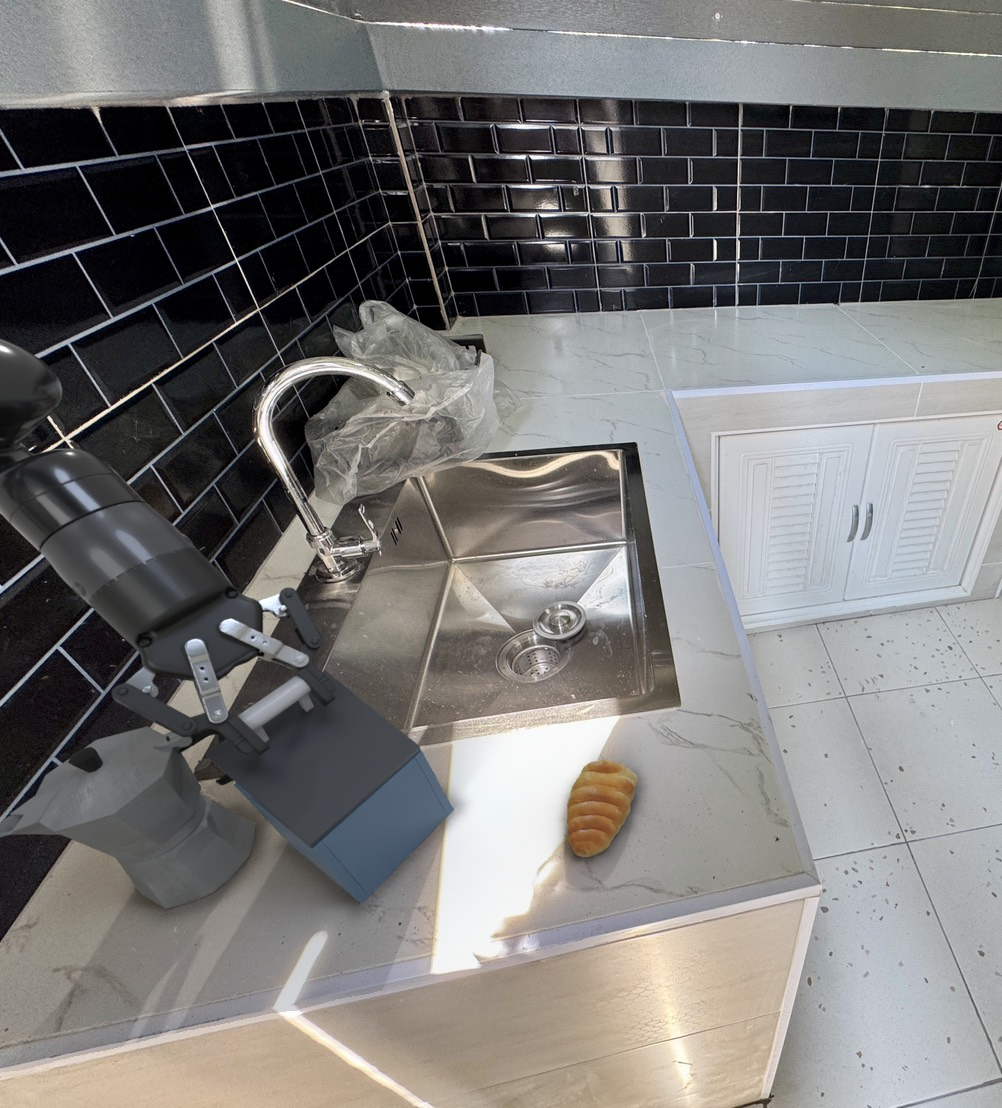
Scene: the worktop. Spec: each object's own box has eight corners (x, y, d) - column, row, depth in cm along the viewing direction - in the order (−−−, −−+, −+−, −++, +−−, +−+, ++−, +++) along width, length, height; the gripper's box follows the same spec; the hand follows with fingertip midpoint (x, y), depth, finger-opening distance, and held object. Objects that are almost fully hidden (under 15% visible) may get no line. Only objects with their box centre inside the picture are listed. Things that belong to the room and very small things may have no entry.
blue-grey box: (287, 842, 60) (233, 784, 54) (382, 760, 68) (344, 700, 61) (361, 904, 56) (312, 849, 49) (454, 809, 63) (422, 751, 57)
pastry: (620, 864, 59) (615, 846, 57) (553, 857, 60) (546, 839, 57) (641, 777, 67) (638, 758, 64) (581, 772, 67) (576, 752, 65)
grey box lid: (207, 757, 51) (183, 729, 47) (326, 673, 58) (315, 642, 54) (311, 848, 49) (295, 827, 45) (421, 750, 57) (416, 724, 53)
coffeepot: (124, 952, 53) (-38, 857, 41) (108, 873, 58) (-41, 769, 46) (317, 829, 61) (226, 723, 50) (288, 770, 66) (199, 661, 55)
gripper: (235, 540, 56) (365, 676, 59) (35, 639, 46) (206, 796, 49) (240, 512, 50) (383, 663, 54) (16, 616, 41) (208, 793, 44)
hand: (297, 725), depth 52 cm, fingers closed on grey box lid, 5 cm apart
